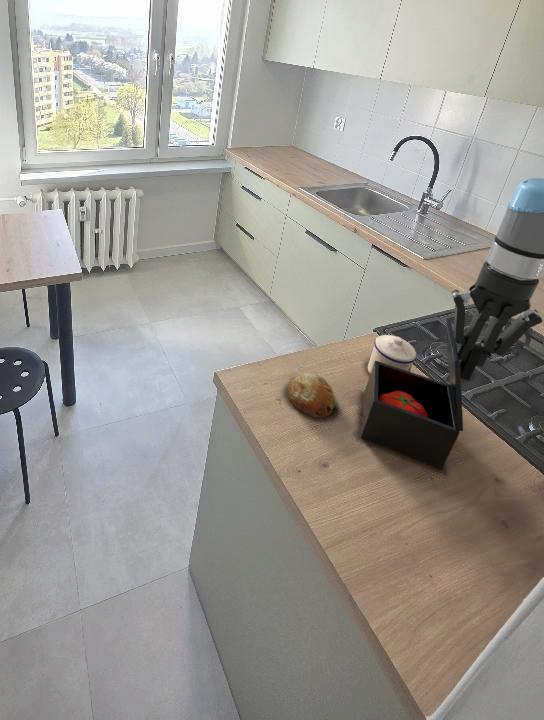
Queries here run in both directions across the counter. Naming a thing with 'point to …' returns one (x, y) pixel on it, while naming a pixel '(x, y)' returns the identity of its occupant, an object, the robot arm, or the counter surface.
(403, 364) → the teacup with lid
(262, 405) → the counter surface
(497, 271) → the robot arm
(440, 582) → the counter surface
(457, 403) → the bin lid
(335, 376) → the counter surface
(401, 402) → the tomato
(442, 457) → the black open box
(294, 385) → the bread roll
